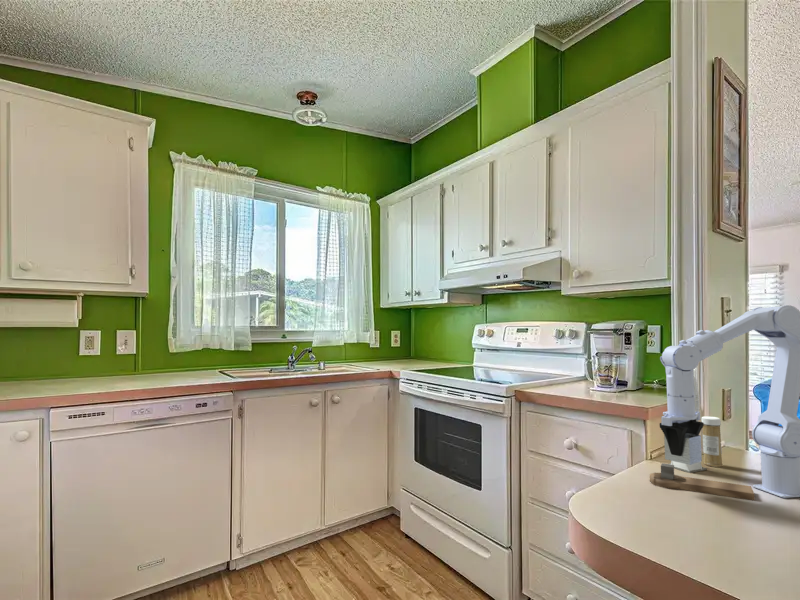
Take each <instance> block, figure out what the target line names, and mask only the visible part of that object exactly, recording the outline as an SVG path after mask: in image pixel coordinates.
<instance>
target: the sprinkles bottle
mask: <svg viewBox="0 0 800 600" xmlns="http://www.w3.org/2000/svg"><path fill="white" fill-rule="evenodd" d="M700 420H701V421H700V422H703V423H704V426H703V428H702V448H703V449H702V450H703V464H704V465H706V466H709V467H713V468H721V467H723V457H722V454H723V451H722V450H723V449H722V443H721V442H722V437H721V435H722V434H721V425H722V424H721V422H722V421H721V418H720V417H717V416H707V415H705V416H701V417H700Z"/></svg>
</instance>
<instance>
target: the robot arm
mask: <svg viewBox="0 0 800 600" xmlns="http://www.w3.org/2000/svg"><path fill="white" fill-rule="evenodd" d="M752 331H755V332H756V333H758V334H760V335H761V336H762V337H765V338H766V339H768V340H769V341H771V343H773V345H774V346H775V347H776V348H775V349H776V350H775V356H774V361H773V362H774V363H773V364H774V365H773V369H772V376H771V382H770V390H769V396H768V404H767V409H766V410H765V411H763V412H762V413H760V414H759V415H758V416H757V417H758V418H757V421H756V423H755V424H754V426H753V428H752V431H751V437H752V440H753V441H754V443H755V444H756V445H757V446H758V450H760V468H761V469H760V470H761V483H759V484H753V485H752V487H753V488H755V489H758V490H761V491H763V492H766V493H769V494H771V495H775V496H777V497H780V498H783V499H787V498H789V499H790V498H800V418H799V417H798V415H797V414H798V409H799V404H800V403H799V402H800V310H799V309H798V308H797V307H795V306H793V305H790V304H789V305H781V306H769V307H768V306H767V307H765V306H764V307H763V306H757V307H755V308H753V309H751V310H747V311H745V312H744V313H743V314H741V315H740V316H738V317H736V318H734V319H733V320H731V321H730V322H728V323H726V324H725V325H723V326H721V327H719V328H718V329H716V330H714V331H712V330H709V329H705V330H703V329H700V330H697V331H695V335H694V336H692V337H689V338H687V339H681V340H679V341H678V342H679V344H678V345H670V346H667V347H666V348H664V350H663V352H662V353H661V356H660V357H659V360H660V362H661V364H662V365H663V367H664V368H665V376H666V378H665V379H666V404H667V405H666V406H667V408H666V409H667V411H662V416H661V422H660V423H659V428H660V430H661V431H662V433H663V436H664V435H665V437H666V439H667V442H668V446H669V449H670V452H671V454H672V455H677V456H681V455H682V451H683V441H684V436H685V433H689V434H695V435H700V433H701V431H702V430H703V426H704V423H703V422H702V421H700V420H701V411H699V412H696V411H695V396H694V370H693V369H696V368H697V367H698V366H699V363H700V362H701V361H703V360H706V359H707V358H709V357H711V356H713V355H715V354H717V353H718V352H721V351H722V350H723V348H724V347H723V346H724V344H725V343H727V342H730V341H732V340H734V339H736V338H738V337H740V336H742V335H744V334H747V333H749V332H752ZM696 420H698V421H696Z"/></svg>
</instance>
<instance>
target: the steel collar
mask: <svg viewBox="0 0 800 600" xmlns="http://www.w3.org/2000/svg"><path fill="white" fill-rule="evenodd" d="M663 436H664V437H663V439H664V440H663V441H664V459H665V460H667V461H670V462H671V461H675V462H680V463H684V464H688V465H691V464H694V463H698V462H701V463H702V438H701V435H700V434H699V435H695V434H689V433H685V436H684V441H683V451H682V455H681V456H677V455H672V454H671V452H670V449H669V446H668V442H667V439H666V437H665V435H664V434H663Z"/></svg>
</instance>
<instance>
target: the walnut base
mask: <svg viewBox="0 0 800 600" xmlns="http://www.w3.org/2000/svg"><path fill="white" fill-rule="evenodd" d="M670 464H671V463H661V465H660V472H652V473H650V474H649V482H651V483H650V484H652V485H653V486H655V487H659V488H664V489H669V490H670V489H671V490H683V491H690V492H691V491H692V492H697V493H701V494H702V493H703V494H710V495H717V496H722V497H723V496H724V497H730V498H736V499H743V500H750V501H756V498H755V492H754V490H753V488H752V486H751V485H744V484H738V483H737V484H736V483H732V482H724V481H723V482H722V481H716V480H710V479H702V478H696V477H689V476H683V475H678V474H675V468H674V465H670Z"/></svg>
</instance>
